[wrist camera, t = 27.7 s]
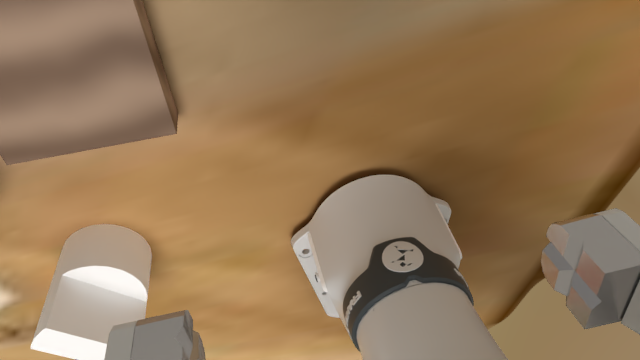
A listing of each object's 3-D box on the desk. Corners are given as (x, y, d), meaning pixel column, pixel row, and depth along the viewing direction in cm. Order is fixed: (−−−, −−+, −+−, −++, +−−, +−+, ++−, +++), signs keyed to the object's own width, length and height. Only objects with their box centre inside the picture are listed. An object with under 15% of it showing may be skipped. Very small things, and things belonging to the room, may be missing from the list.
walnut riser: (178, 112, 45) (176, 133, 41) (21, 140, 43) (6, 165, 40) (126, -52, 36) (119, -41, 33) (-71, -24, 35) (-98, -9, 32)
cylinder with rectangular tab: (47, 268, 51) (12, 367, 42) (85, 211, 48) (58, 305, 39) (127, 293, 56) (113, 389, 46) (167, 243, 53) (160, 334, 43)
